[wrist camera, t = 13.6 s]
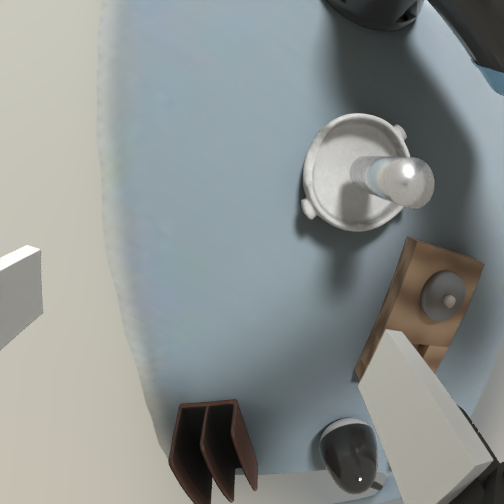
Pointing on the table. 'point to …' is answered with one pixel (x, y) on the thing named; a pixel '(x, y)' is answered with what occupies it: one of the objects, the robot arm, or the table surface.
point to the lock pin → (394, 179)
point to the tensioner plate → (409, 302)
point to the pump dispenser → (350, 455)
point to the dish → (338, 171)
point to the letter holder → (211, 449)
